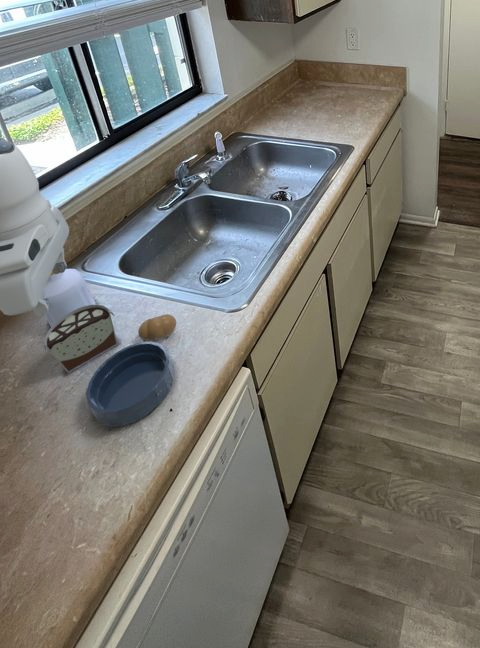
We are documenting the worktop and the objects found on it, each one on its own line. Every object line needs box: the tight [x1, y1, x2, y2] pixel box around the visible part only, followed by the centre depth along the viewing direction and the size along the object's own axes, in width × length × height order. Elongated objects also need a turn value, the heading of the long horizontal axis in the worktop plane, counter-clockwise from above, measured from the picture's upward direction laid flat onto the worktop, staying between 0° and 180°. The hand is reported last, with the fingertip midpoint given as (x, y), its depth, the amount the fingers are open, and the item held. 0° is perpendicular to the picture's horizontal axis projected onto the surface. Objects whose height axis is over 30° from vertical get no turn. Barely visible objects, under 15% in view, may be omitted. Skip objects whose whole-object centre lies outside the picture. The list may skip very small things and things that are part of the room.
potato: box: [137, 314, 177, 342], centre depth 99 cm, size 8×5×5 cm, turn 111°
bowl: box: [85, 340, 175, 428], centre depth 87 cm, size 14×14×5 cm
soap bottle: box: [41, 268, 96, 328], centre depth 100 cm, size 9×9×25 cm
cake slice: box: [43, 303, 119, 374], centre depth 95 cm, size 12×6×10 cm, turn 134°
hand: (52, 289), depth 78 cm, fingers open, 8 cm apart
